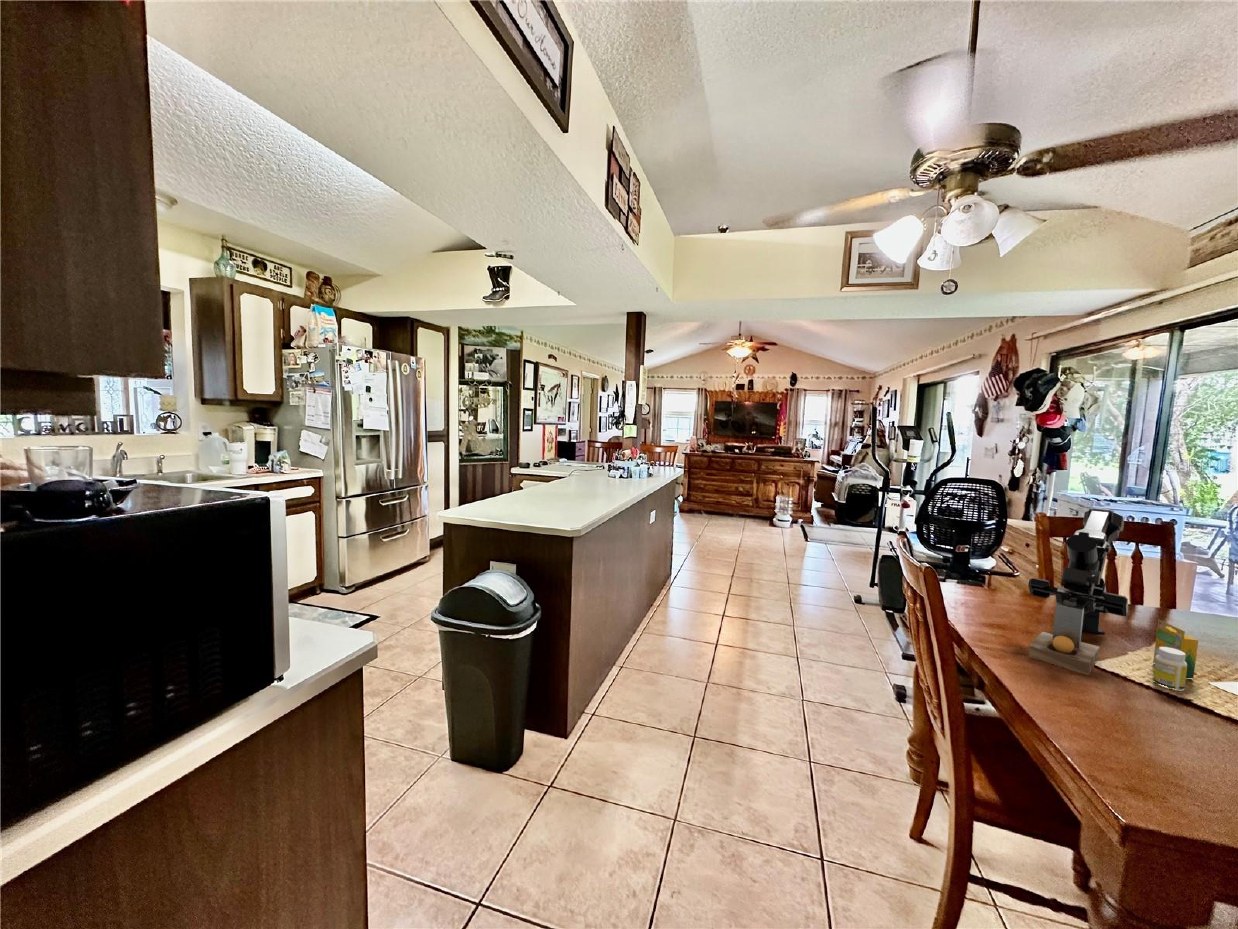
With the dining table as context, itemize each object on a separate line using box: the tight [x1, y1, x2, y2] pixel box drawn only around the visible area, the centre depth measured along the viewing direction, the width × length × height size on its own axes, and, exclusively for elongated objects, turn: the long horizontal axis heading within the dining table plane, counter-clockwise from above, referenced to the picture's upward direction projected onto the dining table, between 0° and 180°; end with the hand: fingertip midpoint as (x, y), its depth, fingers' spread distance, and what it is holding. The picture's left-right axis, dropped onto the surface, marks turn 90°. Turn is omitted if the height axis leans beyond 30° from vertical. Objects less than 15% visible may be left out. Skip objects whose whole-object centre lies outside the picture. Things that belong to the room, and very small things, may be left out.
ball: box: [1053, 636, 1074, 653], centre depth 119 cm, size 4×4×4 cm
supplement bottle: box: [1152, 647, 1187, 690], centre depth 108 cm, size 5×5×8 cm
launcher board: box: [1027, 631, 1100, 676], centre depth 121 cm, size 14×11×3 cm
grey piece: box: [1052, 599, 1084, 648], centre depth 121 cm, size 2×5×11 cm, turn 38°
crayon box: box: [1152, 619, 1199, 679], centre depth 114 cm, size 7×3×12 cm, turn 166°
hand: (1069, 623), depth 122 cm, fingers closed, pressing on grey piece
